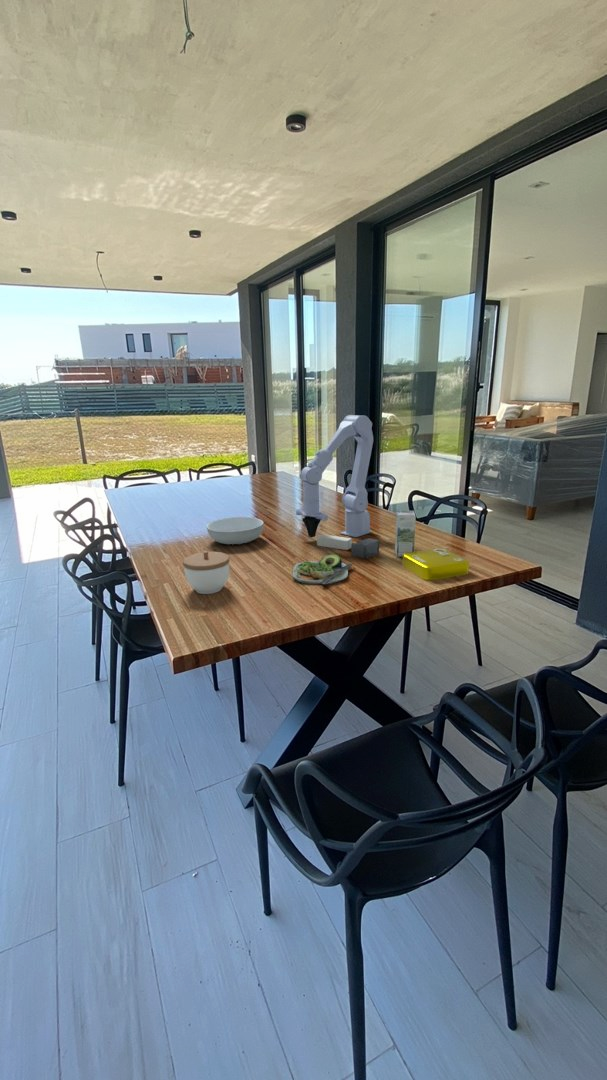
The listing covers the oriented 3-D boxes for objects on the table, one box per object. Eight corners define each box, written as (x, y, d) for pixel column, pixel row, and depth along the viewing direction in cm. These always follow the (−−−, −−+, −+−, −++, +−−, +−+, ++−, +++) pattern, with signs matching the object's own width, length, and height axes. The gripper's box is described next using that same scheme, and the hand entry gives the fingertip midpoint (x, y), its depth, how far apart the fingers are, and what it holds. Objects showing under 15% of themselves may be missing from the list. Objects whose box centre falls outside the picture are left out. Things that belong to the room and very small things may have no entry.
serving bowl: (202, 538, 188) (200, 521, 186) (253, 531, 196) (252, 514, 195) (216, 553, 170) (214, 534, 168) (272, 544, 178) (271, 526, 176)
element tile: (400, 566, 153) (400, 551, 151) (441, 560, 157) (442, 545, 156) (426, 582, 139) (427, 566, 138) (471, 575, 144) (472, 559, 142)
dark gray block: (365, 550, 168) (365, 537, 167) (379, 553, 164) (379, 540, 163) (351, 554, 164) (351, 541, 162) (365, 558, 159) (365, 545, 158)
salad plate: (352, 589, 135) (352, 574, 134) (288, 589, 137) (287, 573, 136) (352, 566, 154) (352, 552, 153) (295, 566, 156) (295, 552, 154)
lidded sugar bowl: (211, 578, 146) (208, 542, 143) (240, 587, 139) (238, 549, 135) (176, 591, 137) (172, 553, 134) (206, 601, 129) (202, 562, 126)
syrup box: (412, 552, 165) (413, 509, 161) (414, 557, 159) (415, 514, 155) (394, 552, 165) (395, 509, 161) (396, 557, 160) (397, 514, 156)
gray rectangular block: (322, 543, 178) (321, 534, 177) (351, 548, 172) (351, 538, 171) (317, 546, 175) (316, 536, 174) (347, 550, 169) (347, 540, 168)
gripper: (289, 499, 179) (290, 535, 183) (317, 504, 169) (318, 542, 173) (303, 496, 184) (304, 531, 188) (331, 501, 174) (332, 538, 178)
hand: (312, 536), depth 181 cm, fingers closed
